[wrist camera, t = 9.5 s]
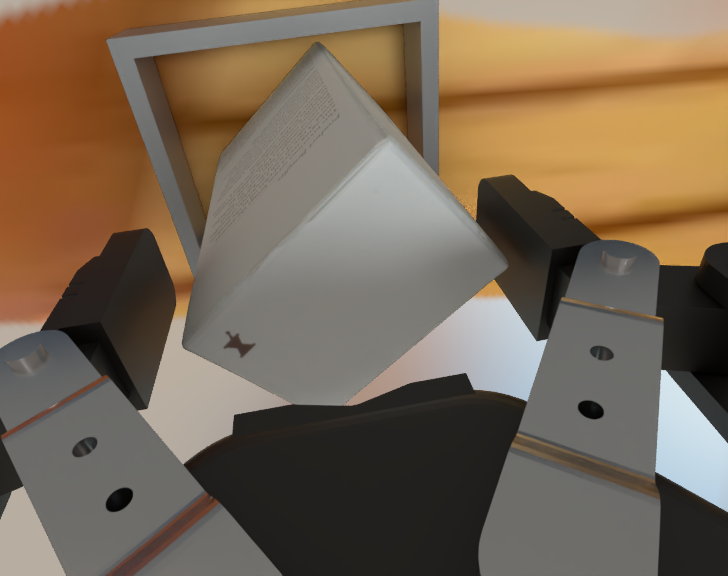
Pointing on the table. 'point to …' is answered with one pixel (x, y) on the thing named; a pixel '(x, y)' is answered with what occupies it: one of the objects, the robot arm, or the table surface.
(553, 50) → the table surface
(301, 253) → the skincare box
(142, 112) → the frame
